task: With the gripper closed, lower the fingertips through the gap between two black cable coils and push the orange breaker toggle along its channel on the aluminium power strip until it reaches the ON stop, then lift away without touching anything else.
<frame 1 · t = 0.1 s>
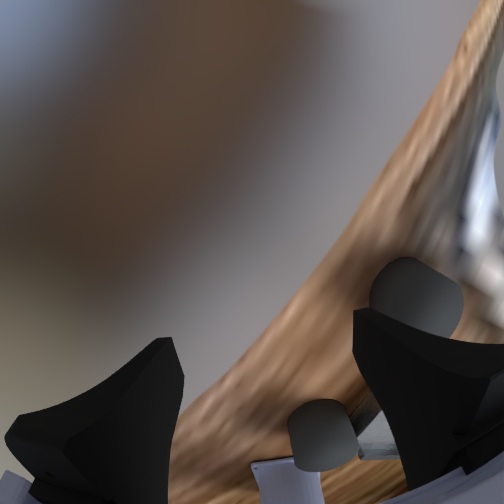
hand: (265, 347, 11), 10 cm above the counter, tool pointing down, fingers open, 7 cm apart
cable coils: (366, 381, 21), on the counter
power strip: (418, 400, 26), on the counter
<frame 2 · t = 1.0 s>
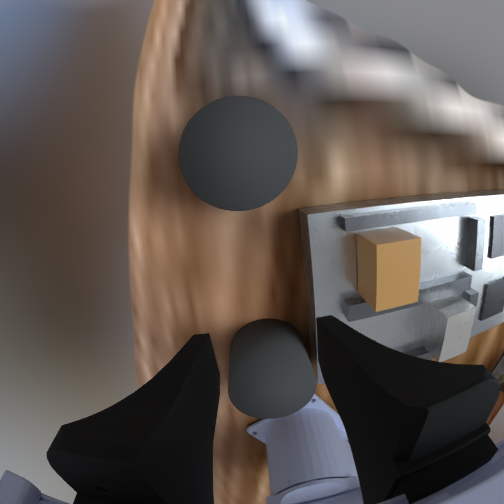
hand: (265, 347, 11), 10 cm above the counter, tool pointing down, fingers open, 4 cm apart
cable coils: (256, 276, 18), on the counter
toggle: (388, 267, 16), point 5 cm above the counter, slide at 0.0 cm
power strip: (399, 277, 22), on the counter
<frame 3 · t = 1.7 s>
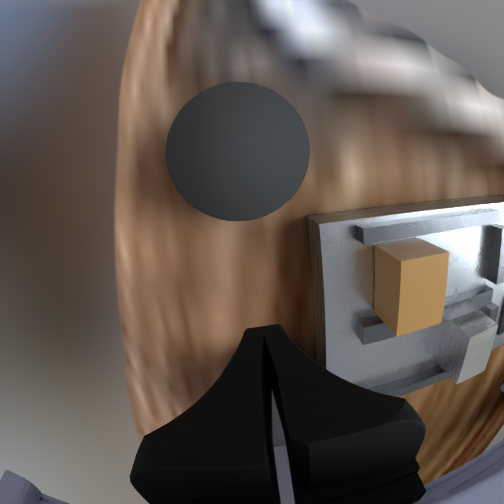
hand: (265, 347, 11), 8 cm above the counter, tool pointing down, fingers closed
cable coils: (258, 294, 16), on the counter
toggle: (409, 284, 14), point 5 cm above the counter, slide at 0.0 cm
power strip: (415, 290, 19), on the counter
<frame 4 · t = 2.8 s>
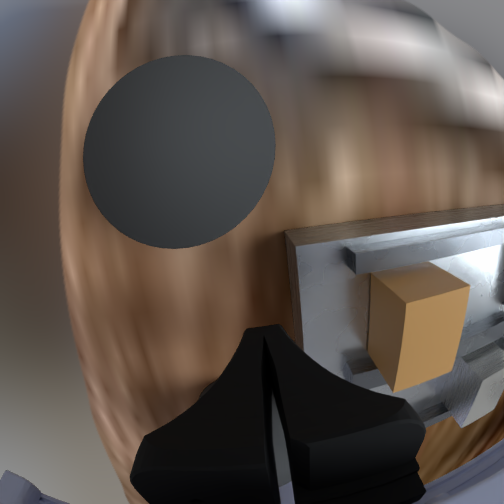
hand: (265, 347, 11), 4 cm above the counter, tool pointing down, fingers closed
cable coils: (219, 333, 12), on the counter
toggle: (415, 324, 10), point 5 cm above the counter, slide at 0.0 cm
power strip: (419, 318, 15), on the counter
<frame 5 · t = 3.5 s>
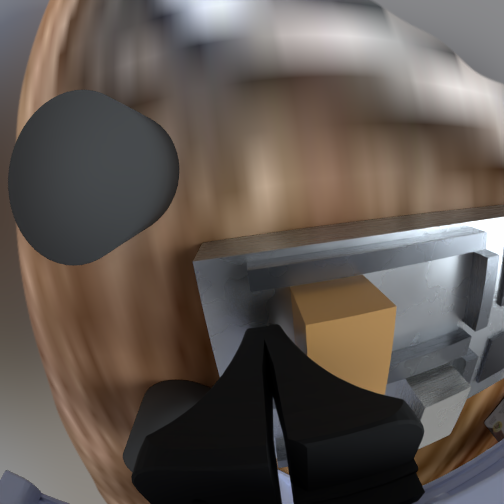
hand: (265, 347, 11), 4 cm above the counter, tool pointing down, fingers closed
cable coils: (138, 340, 12), on the counter
toggle: (339, 343, 10), point 5 cm above the counter, slide at 0.5 cm, touching gripper
power strip: (364, 332, 15), on the counter
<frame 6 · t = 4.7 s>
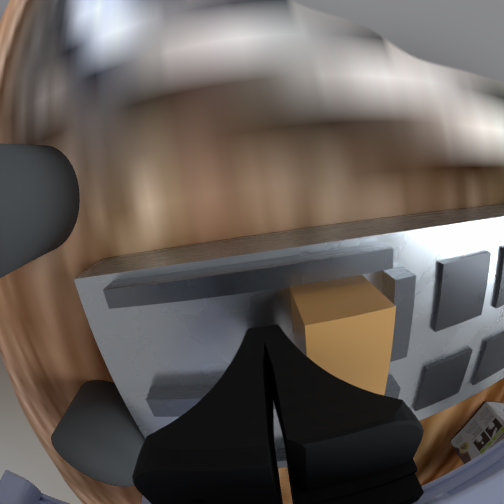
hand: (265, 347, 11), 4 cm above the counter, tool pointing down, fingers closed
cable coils: (52, 342, 12), on the counter
coffee box: (482, 421, 21), on the counter
toggle: (338, 343, 10), point 5 cm above the counter, slide at 6.0 cm, touching gripper
power strip: (270, 350, 15), on the counter
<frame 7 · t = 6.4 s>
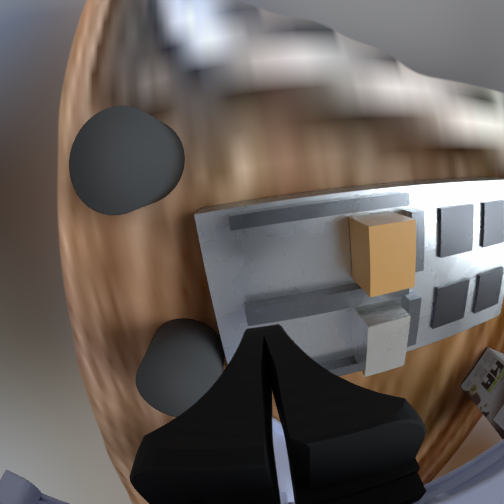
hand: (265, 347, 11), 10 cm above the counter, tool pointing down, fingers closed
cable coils: (154, 276, 18), on the counter
coffee box: (486, 370, 26), on the counter
toggle: (382, 251, 16), point 5 cm above the counter, slide at 6.0 cm
power strip: (325, 278, 21), on the counter
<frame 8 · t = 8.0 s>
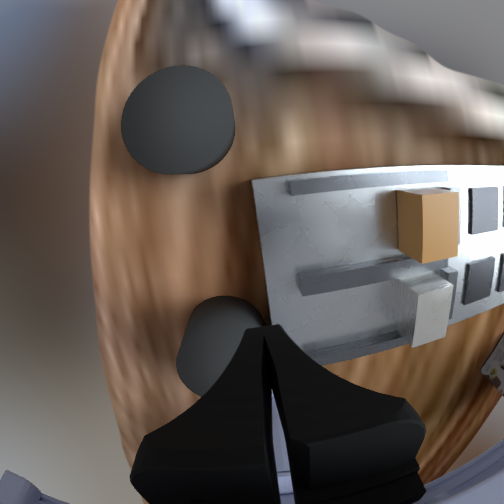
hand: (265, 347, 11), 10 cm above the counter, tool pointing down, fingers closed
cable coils: (203, 246, 18), on the counter
coffee box: (502, 356, 26), on the counter
toggle: (428, 222, 16), point 5 cm above the counter, slide at 6.0 cm
power strip: (367, 254, 21), on the counter
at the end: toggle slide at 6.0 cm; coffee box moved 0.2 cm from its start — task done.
